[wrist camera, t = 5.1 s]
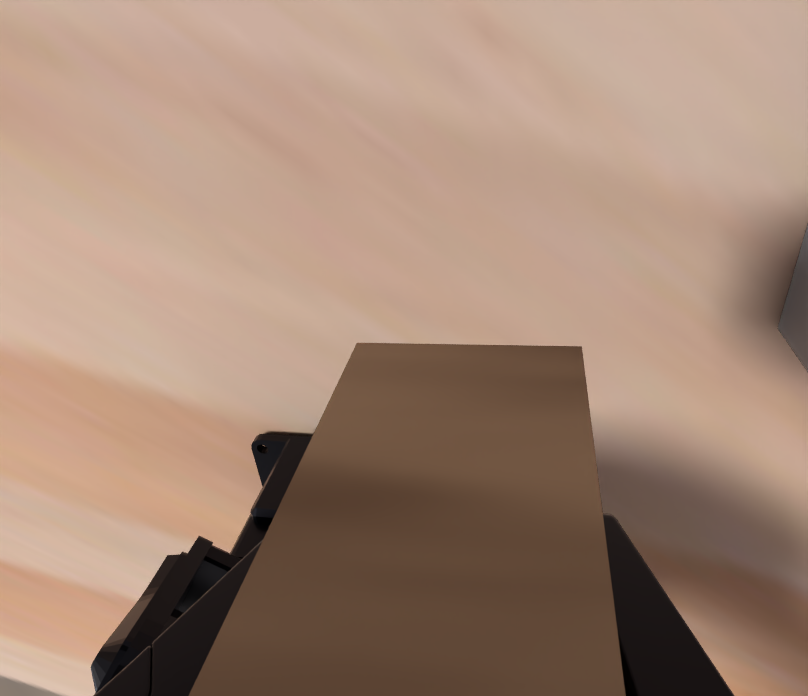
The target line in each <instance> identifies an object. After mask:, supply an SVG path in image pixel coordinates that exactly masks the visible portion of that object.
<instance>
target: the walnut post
mask: <svg viewBox="0 0 808 696" xmlns="http://www.w3.org/2000/svg"><path fill="white" fill-rule="evenodd" d="M189 696H626V695H625V687H624V679H623V671H622V663H621V655H620V647H619V639H618V631H617V623H616V615H615V607H614V599H613V591H612V584H611V576H610V568H609V560H608V552H607V544H606V536H605V528H604V520H603V512H602V504H601V496H600V488H599V480H598V472H597V464H596V457H595V449H594V441H593V433H592V425H591V417H590V409H589V401H588V393H587V385H586V377H585V369H584V361H583V353H582V347H578V346H517V345H456V344H394V343H357V344H356V346H355V348H354V350H353V352H352V355H351V357H350V359H349V361H348V363H347V365H346V367H345V369H344V371H343V373H342V376H341V378H340V380H339V382H338V384H337V386H336V388H335V390H334V392H333V394H332V396H331V399H330V401H329V403H328V405H327V407H326V409H325V411H324V413H323V415H322V417H321V419H320V422H319V424H318V426H317V428H316V430H315V432H314V434H313V436H312V438H311V440H310V443H309V445H308V447H307V449H306V451H305V453H304V455H303V457H302V459H301V461H300V463H299V466H298V468H297V470H296V472H295V474H294V476H293V478H292V480H291V482H290V484H289V487H288V489H287V491H286V493H285V495H284V497H283V499H282V501H281V503H280V505H279V507H278V510H277V512H276V514H275V516H274V518H273V520H272V522H271V524H270V526H269V528H268V531H267V533H266V535H265V537H264V539H263V541H262V543H261V545H260V547H259V549H258V551H257V554H256V556H255V558H254V560H253V562H252V564H251V566H250V568H249V570H248V572H247V574H246V577H245V579H244V581H243V583H242V585H241V587H240V589H239V591H238V593H237V595H236V598H235V600H234V602H233V604H232V606H231V608H230V610H229V612H228V614H227V616H226V618H225V621H224V623H223V625H222V627H221V629H220V631H219V633H218V635H217V637H216V639H215V642H214V644H213V646H212V648H211V650H210V652H209V654H208V656H207V658H206V660H205V662H204V665H203V667H202V669H201V671H200V673H199V675H198V677H197V679H196V681H195V683H194V685H193V688H192V690H191V692H190V694H189Z"/></svg>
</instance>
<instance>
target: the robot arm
mask: <svg viewBox="0 0 808 696" xmlns="http://www.w3.org/2000/svg"><path fill="white" fill-rule="evenodd" d="M311 438H312V437H308V436H292V435H275V434H259V435H258V436H256V438H255V440H254V441H253V443H252V445H251V446H252V451H253V455H254V458H255V462H256V465H257V469H258V472H259V476H260V479H261V482H262V486H263V488H262V490H261V491H260V493H259V495H258V497H257V499H256V501H255V503H254V505H253V507H252V509H251V514H250V516H249V518H248V520H247V522H246V524H245V526H244V528H243V530H242V531H241V533H240V535H239V537H238V539H237V541H236V543H235V545H234V547H233V549H232V550H231V552H230V553H228V552H226V551H224V550H222V549H220V548H217V547H215V546H213V545H212V544H213V542H211V541H209V540H207V539H205V538H203V537H201V536H199V537H198V538H197V540H196V541H195V543H194V545H193V546H192V548H191V549H190V551H189V552H188V554H187V553H184V552H182V553H181V554H180V555H167V557H166V559H165V560H164V562H163V563H162V565H161V567H160V568H159V570H158V571H157V573H156V574H155V576H154V578H153V579H152V581H151V582H150V584H149V585H148V587H147V589H146V590H145V592H144V593H143V594H142V596H141V597H140V599H139V600H138V601H137V603H136V604H135V605H134V607H133V608H132V609H131V611H130V612H129V613H128V614H127V616H126V617H125V618H124V620H123V621H122V622H121V623H120V625H119V626H118V627H117V629H116V630H115V631H114V632H113V634H112V635H111V636H110V638H109V639H108V640H107V641H106V643H105V644H104V645H103V647H102V648H101V650H100V651H99V653H98V654H97V656H96V658H95V659H94V661H93V663H92V665H91V671H92V676H93V681H94V686H95V691H96V693H95V695H94V696H189V694H190V692H191V690H192V688H193V685H194V683H195V681H196V679H197V677H198V675H199V673H200V671H201V669H202V667H203V665H204V662H205V660H206V658H207V656H208V654H209V652H210V650H211V648H212V646H213V644H214V642H215V639H216V637H217V635H218V633H219V631H220V629H221V627H222V625H223V623H224V621H225V618H226V616H227V614H228V612H229V610H230V608H231V606H232V604H233V602H234V600H235V598H236V595H237V593H238V591H239V589H240V587H241V585H242V583H243V581H244V579H245V577H246V574H247V572H248V570H249V568H250V566H251V564H252V562H253V560H254V558H255V556H256V554H257V551H258V549H259V547H260V545H261V543H262V541H263V539H264V537H265V535H266V533H267V531H268V528H269V526H270V524H271V522H272V520H273V518H274V516H275V514H276V512H277V510H278V507H279V505H280V503H281V501H282V499H283V497H284V495H285V493H286V491H287V489H288V487H289V484H290V482H291V480H292V478H293V476H294V474H295V472H296V470H297V468H298V466H299V463H300V461H301V459H302V457H303V455H304V453H305V451H306V449H307V447H308V445H309V443H310V440H311ZM263 445H265V446H266V447H264V446H263ZM603 520H604V528H605V536H606V544H607V552H608V560H609V568H610V576H611V584H612V591H613V599H614V607H615V615H616V623H617V631H618V639H619V647H620V655H621V663H622V671H623V679H624V687H625V695H626V696H734V694H733V693H732V691H731V690H730V688H729V687H728V685H727V684H726V682H725V681H724V679H723V678H722V676H721V675H720V673H719V672H718V670H717V669H716V667H715V666H714V664H713V663H712V661H711V660H710V658H709V657H708V655H707V654H706V652H705V651H704V650H703V648H702V647H701V645H700V644H699V642H698V641H697V639H696V638H695V636H694V635H693V633H692V632H691V630H690V629H689V627H688V626H687V624H686V623H685V621H684V620H683V618H682V617H681V615H680V614H679V612H678V611H677V609H676V608H675V606H674V605H673V603H672V602H671V600H670V599H669V597H668V596H667V594H666V593H665V591H664V590H663V588H662V587H661V585H660V584H659V582H658V581H657V579H656V578H655V576H654V575H653V573H652V572H651V570H650V569H649V567H648V566H647V564H646V563H645V561H644V560H643V558H642V557H641V555H640V554H639V552H638V551H637V549H636V548H635V546H634V545H633V543H632V542H631V540H630V539H629V537H628V536H627V534H626V533H625V531H624V530H623V528H622V527H621V525H620V524H619V522H618V521H617V519H616V518H615V517H614V516H613V515H611V514H606V513H603Z"/></svg>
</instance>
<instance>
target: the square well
mask: <svg viewBox="0 0 808 696" xmlns="http://www.w3.org/2000/svg"><path fill="white" fill-rule="evenodd" d="M778 330H779V331H780V333H781V334H782V336H783V337H784V338H785V340H786V341H787V343H788V344H789V346H790V347H791V349H792V350H793V352H794V353H795V354H796V356H797V357H798V359H799V360H800V362H801V363H802V365H803V366H804V367H805V369H806V370H807V372H808V225H807V228H806V232H805V235H804V239H803V242H802V246H801V249H800V253H799V256H798V260H797V263H796V266H795V270H794V273H793V277H792V280H791V284H790V287H789V291H788V294H787V298H786V301H785V305H784V308H783V312H782V315H781V318H780V322H779V325H778Z"/></svg>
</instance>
